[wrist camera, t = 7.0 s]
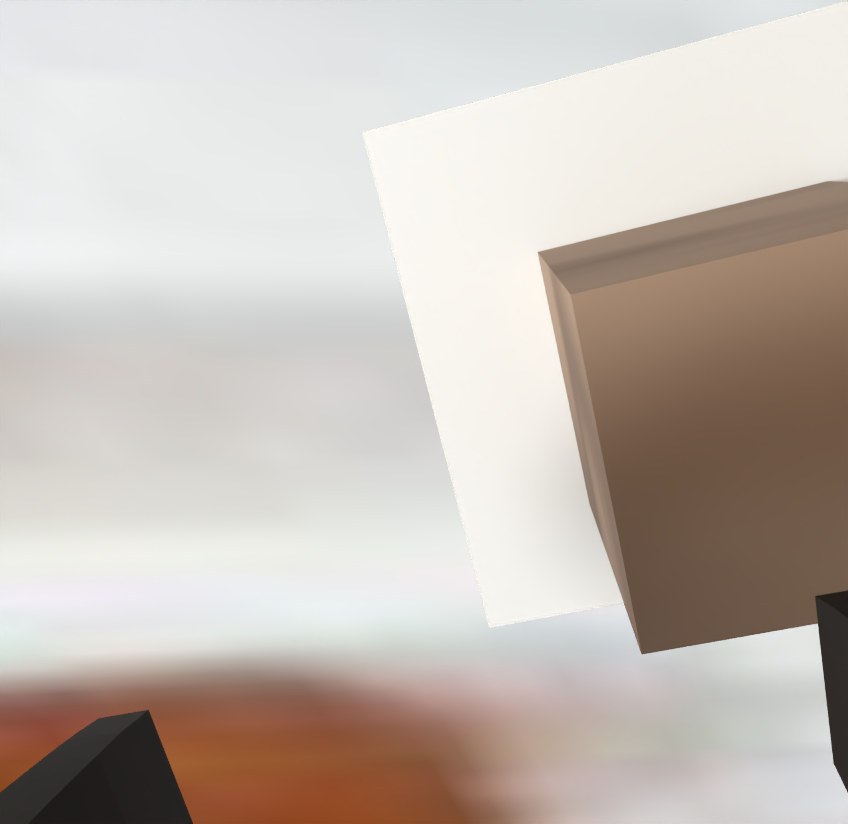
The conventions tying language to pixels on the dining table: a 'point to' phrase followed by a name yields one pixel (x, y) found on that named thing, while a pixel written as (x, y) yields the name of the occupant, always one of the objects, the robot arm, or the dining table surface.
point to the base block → (569, 223)
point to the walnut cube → (713, 410)
